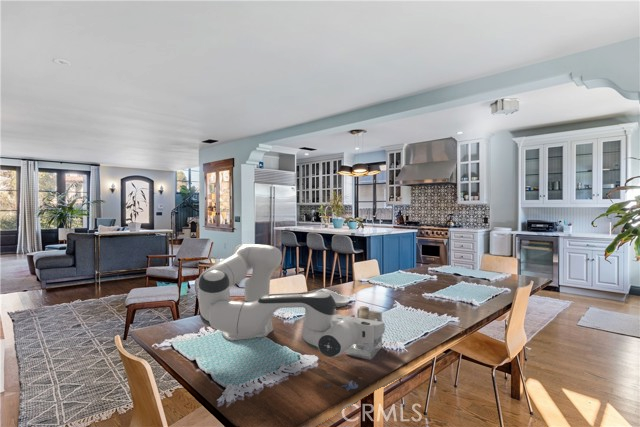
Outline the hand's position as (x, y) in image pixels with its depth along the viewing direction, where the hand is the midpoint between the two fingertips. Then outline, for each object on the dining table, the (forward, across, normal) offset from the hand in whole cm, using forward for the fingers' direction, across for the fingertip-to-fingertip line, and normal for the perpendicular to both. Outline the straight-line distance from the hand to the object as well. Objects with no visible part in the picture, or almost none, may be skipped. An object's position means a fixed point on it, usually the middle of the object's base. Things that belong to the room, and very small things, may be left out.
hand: (364, 318), depth 132 cm
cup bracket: (-1, 0, -12) cm, 13 cm away
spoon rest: (+50, -41, -13) cm, 66 cm away
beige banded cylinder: (-1, 0, -9) cm, 9 cm away
